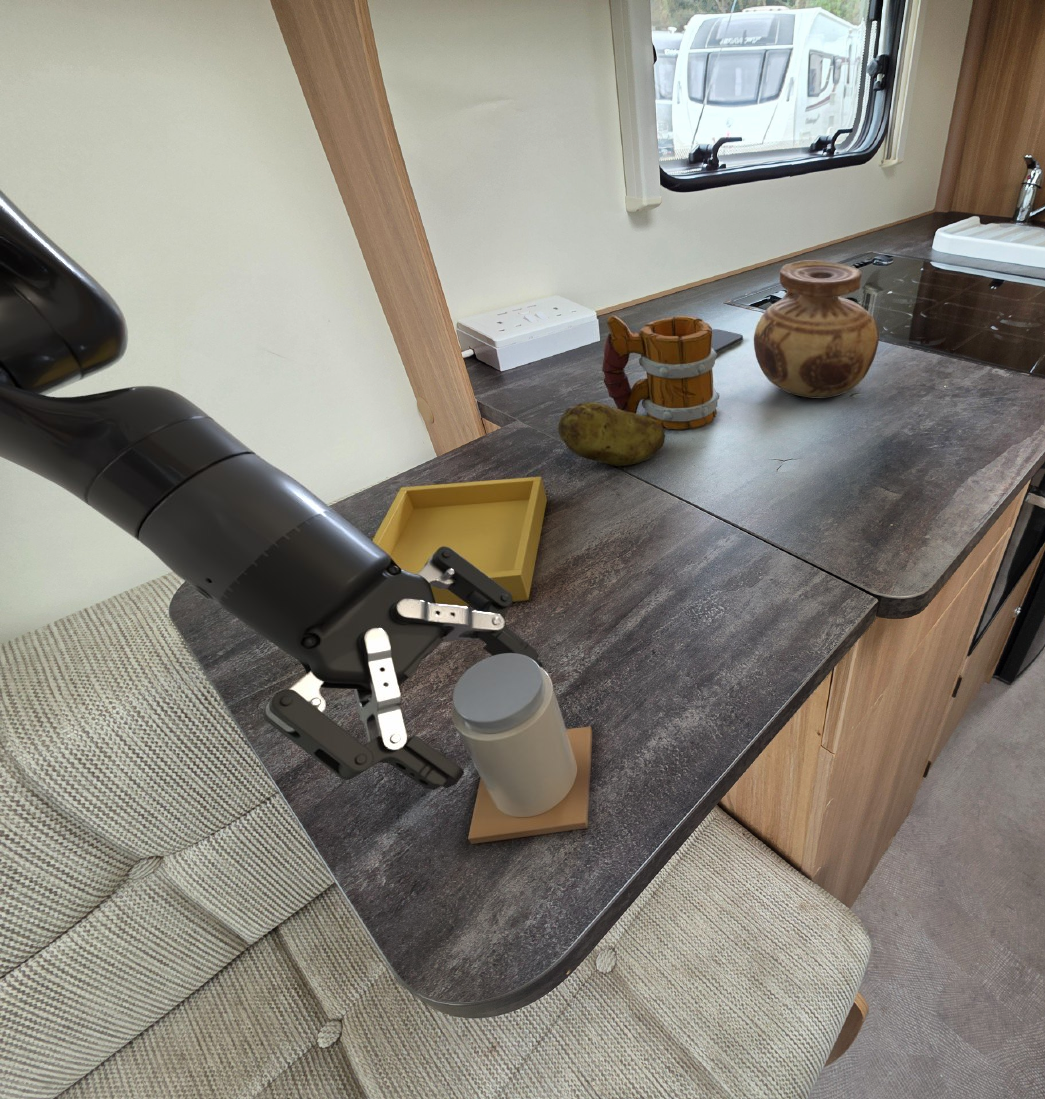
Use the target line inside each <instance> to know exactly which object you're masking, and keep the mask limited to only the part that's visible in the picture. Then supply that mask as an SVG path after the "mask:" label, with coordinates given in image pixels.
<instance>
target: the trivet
mask: <svg viewBox="0 0 1045 1099" xmlns="http://www.w3.org/2000/svg"><path fill="white" fill-rule="evenodd" d="M566 730H567V733H568V736H569V739H570V743H571V746H572V749H573V752H574V756H575V759H576V763H577V774H576V778H575V781H574V784H573V786H572V788H571V789H570V791H569V793H568V794H567V795H566V797H565V798H564V799H563V800H562V801H561V802H560V803H558V804H557V805H556V806H555V807H553V808H552V809H550V810H548V811H546V812H544V813H542V814H539V815H536V816H531V817H514V816H510V815H507V814H505V813H503V812H502V811H500V810H499V809H498V808H497V807H496V806H495V804H494V803H493V801H492V799H491V797H490V795H489V793H488V791H487V789H486V787H485V785H484V783H483V781H482V779H481V778H480V779H479V784H478V789H477V794H476V799H475V803H474V808H473V813H472V818H471V823H470V827H469V832H468V837H467V839H468V841H469V843H470V845H476V844H482V843H483V844H484V843H490V842H497V841H504V840H511V839H519V838H525V837H526V838H527V837H533V836H540V835H548V834H553V833H554V834H555V833H562V832H568V831H576V830H582V829H588V825H589V809H590V808H589V806H590V789H591V788H590V787H591V768H592V763H591V762H592V748H593V728H592V726H583V727H573V728H566Z"/></svg>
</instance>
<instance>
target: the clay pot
mask: <svg viewBox="0 0 1045 1099" xmlns="http://www.w3.org/2000/svg"><path fill="white" fill-rule="evenodd" d="M861 280H862V272H861V270H860V269H858V268H856V267H855V266H851V265H848V264H844V263H838V262H832V261H831V262H830V261H826V260H819V259H818V260H816V259H815V260H813V259H812V260H811V259H804V260H799V261H794V262H790V263H786V264H784V265H783V266H782V267H781V268H780V270H779V284H780V285H781V286H782V288H783V289H784V290H786V293H785V294H784V295H783V297H782V298H780V299H779V300H777V301H775V302H774V303H773V304H772V305H770V306H769V307H767V309H766V310H764V312H763V313H762V315H761V316H760V318H759V320H758V322H757V324H756V326H755V329H754V333H753V349H754V355H755V357H756V361H757V363H758V365H759V368H760V370H761V372H762V374H764V376H765V378H766V379H767V380H768V381H769V382H770V383H771V384H773V386H775V387H777V388H778V389H780V390H782V391H784V392H786V393H789V394H791V395H794V396H798V397H801V398H802V397H803V398H811V399H825V398H831V397H836V396H840V395H842V394H845V393H847V392H849V391H851V390H853V389H854V388H855V387H857V386H858V385H859V384H860V383H861V382H862V381H863V380H864V378H865V377H866V376H867V374H868V372H869V370H870V368H871V366H872V364H873V362H874V360H875V357H876V354H877V351H878V346H879V342H880V340H879V339H880V336H879V333H880V332H879V328H878V324H877V323H876V322H877V321H876V320H875V318H874V317H873V315H872V314H871V313H870V312H869V311H867V309H865V308H864V307H863V306H862V305H861V304H859V303H857V302H855V301H853V300H851V299H848V298H845V297H842V296H845V295H849V294H852V293H855V292H856V291H858V290H860V287H861Z"/></svg>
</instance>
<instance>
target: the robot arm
mask: <svg viewBox="0 0 1045 1099" xmlns="http://www.w3.org/2000/svg"><path fill="white" fill-rule="evenodd" d="M128 343H129V329H128V324H127V321H126V318H125V315H124V313H123V311H122V310H121V307H120V306H119V304H118V303H117V302H116V300H115V299H114V298H113V296H112V295H111V294H110V293H109V291H108V290H106V289H105V288H104V287H103V286H102V284H100V282H99V281H98V280H97V279H96V278H95V277H94V276H93V275H91V274H90V273H89V272H88V271H87V270H86V269H85V268H84V267H83V266H82V265H81V264H80V263H78V261H76V260H75V259H74V257H71V255H69V254H68V253H67V252H66V251H65V250H64V249H63V248H62V247H61V246H59V245H58V244H57V243H56V242H55V241H54V240H53V239H51V237H49V236H48V235H47V234H46V233H45V232H44V231H43V230H42V229H41V228H40V227H39V226H38V225H36V223H35V222H33V221H32V220H31V219H30V218H29V217H28V215H26V214H25V213H24V212H23V211H22V210H21V208H19V207H18V206H17V205H16V204H15V203H14V201H12V200H11V198H9V196H7V194H6V193H5V192H4V191H3V190H2V189H1V188H0V458H2V459H4V460H7V461H9V462H11V463H13V464H15V465H17V466H20V467H22V468H24V469H26V470H28V471H29V472H32V473H34V474H36V475H38V476H40V477H42V478H44V479H46V480H48V481H50V482H52V483H54V484H55V485H58V486H59V487H61V488H62V489H64V490H66V491H67V492H68V493H70V494H72V495H73V496H75V497H76V498H78V499H79V500H80V501H82V502H83V503H84V504H86V505H87V506H89V507H91V509H93V510H94V511H96V512H97V513H99V514H100V515H102V516H103V517H104V518H106V519H107V520H109V521H110V522H112V524H114V525H116V526H117V527H119V528H120V529H121V530H122V531H124V532H125V533H127V534H128V535H129V536H131V537H132V538H134V539H135V540H137V541H139V542H140V544H142V545H143V546H144V547H146V548H147V549H149V550H150V551H151V552H152V553H153V554H154V555H155V556H156V557H157V558H158V559H159V560H160V561H161V562H162V563H163V564H164V565H165V566H166V567H167V568H169V570H171V571H172V572H173V573H174V574H176V575H177V576H178V577H179V578H180V579H182V580H183V581H185V582H186V583H188V584H189V585H190V586H191V587H192V588H193V590H194V591H195V592H196V593H197V594H199V595H200V596H201V597H203V598H204V599H206V600H208V601H212V602H214V603H215V604H217V605H218V606H220V608H222V609H224V610H225V611H226V612H228V613H229V614H230V615H232V616H234V617H235V618H236V619H238V620H239V621H241V622H243V623H244V624H245V625H246V626H248V627H249V628H250V629H252V630H253V631H255V632H256V633H257V634H259V635H261V636H262V637H263V638H264V639H266V640H268V641H269V642H270V643H271V644H273V645H274V646H276V647H277V648H279V649H280V650H281V651H283V652H285V654H287V655H289V656H291V657H292V658H294V659H296V660H297V662H299V663H300V665H301V666H302V667H303V669H304V671H305V675H304V676H303V677H301V678H300V679H299V680H297V681H296V682H295V683H294V684H292V685H291V687H289V688H285V689H281V690H279V691H277V692H276V693H275V694H274V695H273V696H272V697H271V700H269V701H268V703H267V705H266V706H265V707H264V709H263V711H262V718H263V720H264V721H265V722H266V723H268V724H269V725H271V726H272V727H273V728H274V729H276V730H277V731H278V732H279V733H281V735H284V737H286V738H288V740H290V741H291V742H293V743H294V744H295V745H296V746H298V748H300V749H302V750H303V752H306V753H307V754H308V755H309V756H310V757H312V758H313V759H314V760H316V761H317V762H318V763H319V764H321V765H322V766H323V767H324V768H326V769H328V770H329V771H330V772H331V773H333V774H334V775H335V776H336V777H338V778H339V779H341V780H345V781H350V780H352V779H354V778H356V777H357V776H359V775H361V774H362V773H364V772H365V771H367V770H368V769H370V768H372V767H374V766H375V765H377V764H381V763H382V764H383V763H384V764H388V765H390V766H392V767H393V768H395V769H396V770H398V771H399V772H401V773H402V774H403V775H405V776H406V777H408V778H409V779H411V780H412V781H413V782H415V783H417V784H418V785H420V786H421V787H422V788H424V789H427V790H433V791H435V790H436V789H439V788H441V787H442V788H445V789H449V788H451V787H453V786H455V785H457V784H458V782H459V781H460V780H461V778H462V777H463V776H464V775H465V770H464V769H463V768H462V767H461V766H460V765H458V764H456V762H453V761H452V760H451V759H450V758H448V757H447V756H445V755H444V754H443V753H441V752H440V751H439V750H437V749H435V748H434V747H433V746H431V745H430V744H428V743H427V742H426V741H425V740H423V739H422V738H420V737H419V736H417V735H416V734H414V735H413V736H411V737H408V734H407V730H406V726H405V722H404V718H403V714H402V710H401V709H402V708H401V706H402V695H401V692H400V688H399V687H400V686H401V685H402V684H403V683H405V682H406V681H407V680H409V679H410V677H411V676H412V675H413V674H414V673H415V672H416V671H417V670H418V669H419V667H420V665H421V663H422V661H423V660H425V659H426V658H427V657H428V656H429V655H431V654H432V653H433V652H434V651H435V650H436V649H437V648H438V647H439V646H440V645H441V644H442V643H450V642H454V641H466V642H476V643H477V642H478V643H484V644H485V645H484V647H483V650H485V651H486V652H487V653H488V654H490V656H494V655H498V654H504V653H517V654H522V655H525V656H527V657H530V658H531V659H533V660H534V661H535V662H536V663H537V664H538V665H539V667H541V668H542V667H543V663H542V661H540V660H539V659H538V658H539V657H540V655H539V653H538V651H537V650H536V648H534V647H533V646H532V645H530V644H529V642H527V641H526V640H524V638H522V637H521V636H519V635H518V634H517V633H516V632H515V631H513V630H512V629H511V627H509V626H508V625H507V623H506V614H507V612H508V608H509V606H511V605H512V604H513V602H512V601H513V598H512V595H511V594H510V593H509V592H508V591H507V590H505V589H504V588H503V587H501V586H500V585H499V584H497V583H496V582H495V581H493V580H492V579H491V578H489V577H488V576H487V575H485V574H484V573H483V572H482V571H480V570H479V569H478V568H476V567H475V566H474V565H472V564H471V563H470V562H468V561H467V560H466V559H464V558H463V557H462V556H460V555H459V554H458V553H456V552H455V551H454V550H452V549H451V548H449V547H446V546H443V547H440V548H439V549H438V550H437V551H436V552H435V553H434V554H433V555H432V556H431V557H430V558H429V559H428V561H427V563H426V564H425V565H424V567H423V568H422V570H421V571H420V572H419V573H418V574H414V573H410V572H407V571H405V570H403V569H401V568H400V567H399V566H398V565H397V564H396V563H395V562H394V560H393V559H392V558H391V557H390V555H389V554H388V553H386V552H385V551H384V550H383V549H381V548H380V547H379V546H378V545H376V544H375V543H374V542H373V541H372V539H370V538H369V537H368V536H367V535H365V533H363V532H361V530H359V529H358V528H356V526H354V525H353V524H352V523H350V521H348V520H346V519H345V518H344V516H342V515H340V513H338V512H337V511H335V510H334V509H333V508H332V507H331V506H329V505H328V504H327V503H326V502H324V501H323V500H322V499H321V498H319V497H318V496H317V495H315V493H313V492H312V491H311V490H309V489H308V488H307V487H305V485H303V484H302V483H300V481H298V480H297V479H295V478H293V476H291V475H289V474H288V473H286V472H284V471H283V470H281V469H280V468H278V467H277V466H275V465H273V464H272V463H270V462H268V461H266V460H265V459H264V458H262V457H261V456H260V455H258V454H257V453H256V452H255V451H254V450H252V449H251V448H249V446H247V445H246V444H244V443H243V442H242V441H241V440H240V439H238V438H237V436H235V435H234V434H232V433H231V432H230V431H228V430H227V429H226V428H225V427H224V426H222V425H221V424H220V423H218V422H217V421H216V420H215V419H214V418H213V417H211V415H209V414H208V413H206V411H204V410H203V409H202V408H200V407H199V406H198V405H196V404H195V403H194V402H192V401H191V400H189V399H188V398H187V397H185V396H183V394H180V393H178V392H177V391H174V390H171V389H169V388H166V387H162V386H158V385H157V386H156V385H136V386H128V387H123V388H117V389H113V390H108V391H102V392H98V393H91V394H86V395H78V396H77V395H76V396H49V394H52V393H54V392H57V391H59V390H61V389H63V388H66V387H68V386H70V385H73V384H75V383H77V382H79V381H82V380H84V379H87V378H90V377H91V376H94V375H96V374H99V373H101V372H103V371H105V370H107V369H110V368H111V367H112V366H114V365H115V364H117V363H119V362H120V361H121V360H122V358H123V357H124V356H125V353H126V351H127V348H128ZM431 586H435V587H436V588H438V589H448V590H449V591H451V592H452V593H453V594H455V595H456V596H457V597H459V598H460V599H462V600H463V601H464V602H466V603H467V604H468V605H470V606H464V607H461V606H453V605H444V604H436V602H435V599H434V595H433V592H432V588H431ZM471 608H472V609H474V610H472V609H471ZM321 688H323V689H338V690H339V689H340V690H341V689H343V690H353V693H354V697H355V702H356V708H357V711H358V715H359V719H360V721H361V723H362V724H364V729H365V734H366V739H367V743H365V744H363V743H362V742H360V741H359V740H358V739H356V738H355V737H354V736H352V734H350V733H349V732H348V731H346V730H345V729H344V728H343V727H341V725H339V724H338V723H337V722H335V721H334V720H333V719H331V718H330V717H329V716H328V715H327V714H325V713H324V711H325V710H326V707H327V702H326V700H325V699H324V697H323V696H322V694H321Z"/></svg>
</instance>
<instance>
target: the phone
mask: <svg viewBox="0 0 1045 1099" xmlns="http://www.w3.org/2000/svg"><path fill="white" fill-rule="evenodd" d="M743 340H744V336H743V334H740V333H737V332H732V331H728V330H723V329H719V328H712V348H713V349H714V351H715V352H716V354H718V353H720V352H722V351H725V350H726V349H728V348H731V347H732V346H734V345H737V344H738V343H740V342H742V341H743Z"/></svg>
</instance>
